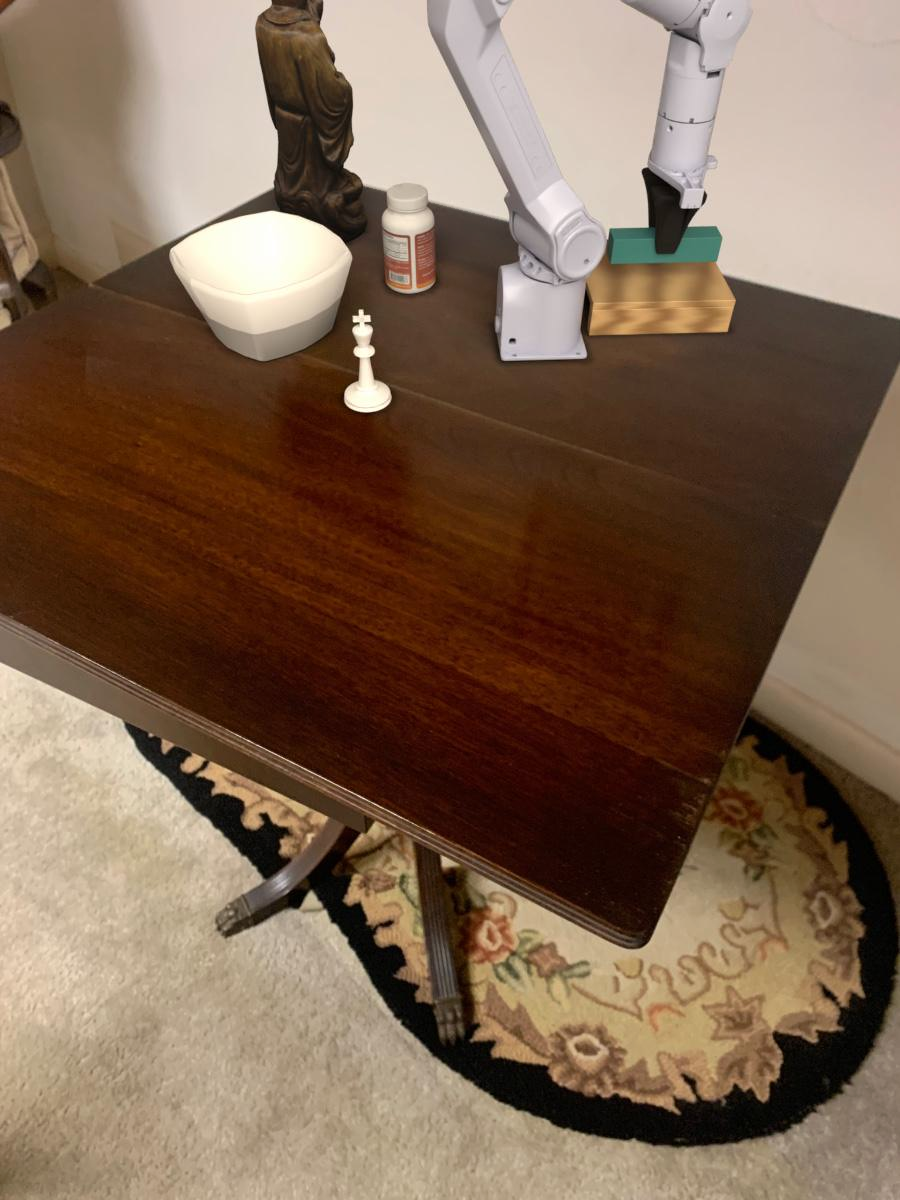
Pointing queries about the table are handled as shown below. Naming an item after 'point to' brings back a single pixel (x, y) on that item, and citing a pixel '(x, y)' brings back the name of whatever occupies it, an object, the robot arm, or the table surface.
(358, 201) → the sculpture
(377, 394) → the chess piece
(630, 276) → the wooden stepped tray
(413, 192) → the pill bottle
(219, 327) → the bowl
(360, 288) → the table surface
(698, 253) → the stick
